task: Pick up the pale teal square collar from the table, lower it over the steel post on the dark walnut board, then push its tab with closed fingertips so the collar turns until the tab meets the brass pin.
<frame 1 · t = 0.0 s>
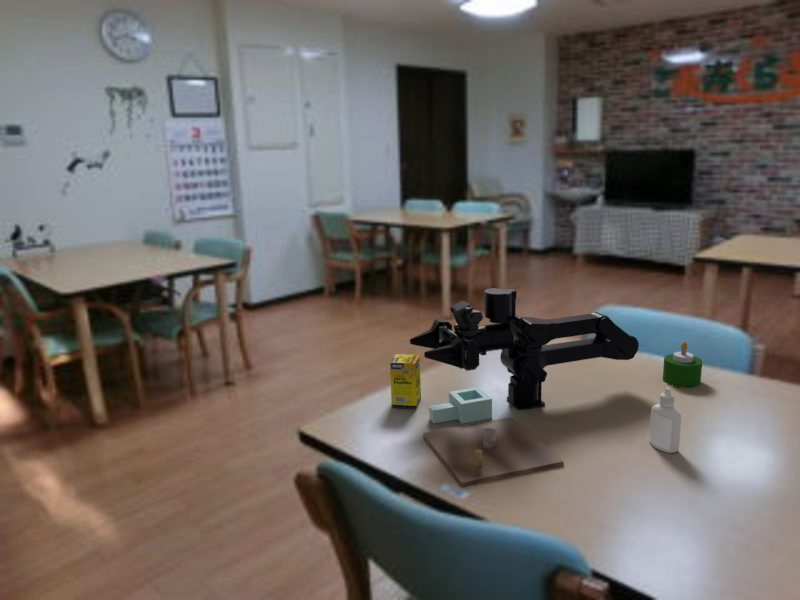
hand: (417, 348, 128), 17 cm above the table, tool horizontal, fingers open, 9 cm apart
eye dropper bottle: (663, 448, 117), on the table
collar: (431, 421, 132), on the table
candle: (681, 382, 147), on the table
supplement box: (406, 404, 141), on the table
board: (489, 450, 118), on the table
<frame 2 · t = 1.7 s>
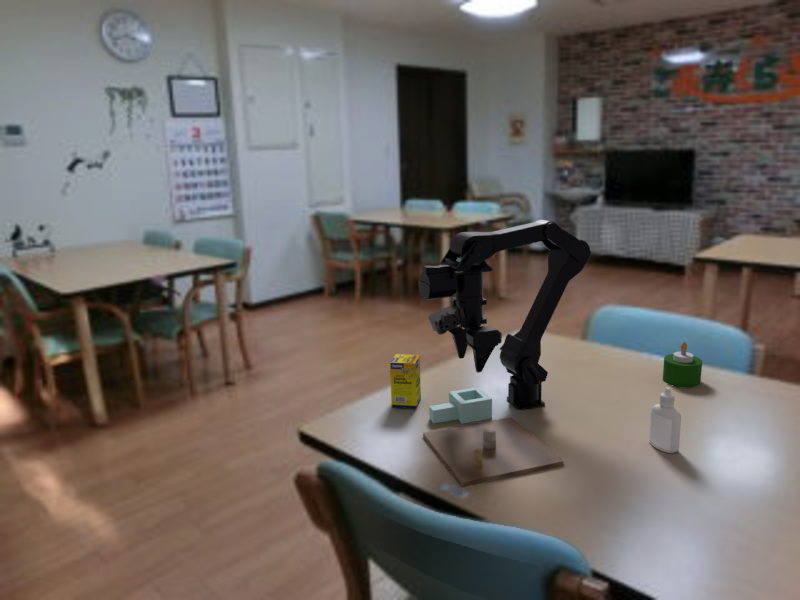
hand: (469, 364, 131), 11 cm above the table, tool pointing down, fingers open, 9 cm apart
nothing on the table moved.
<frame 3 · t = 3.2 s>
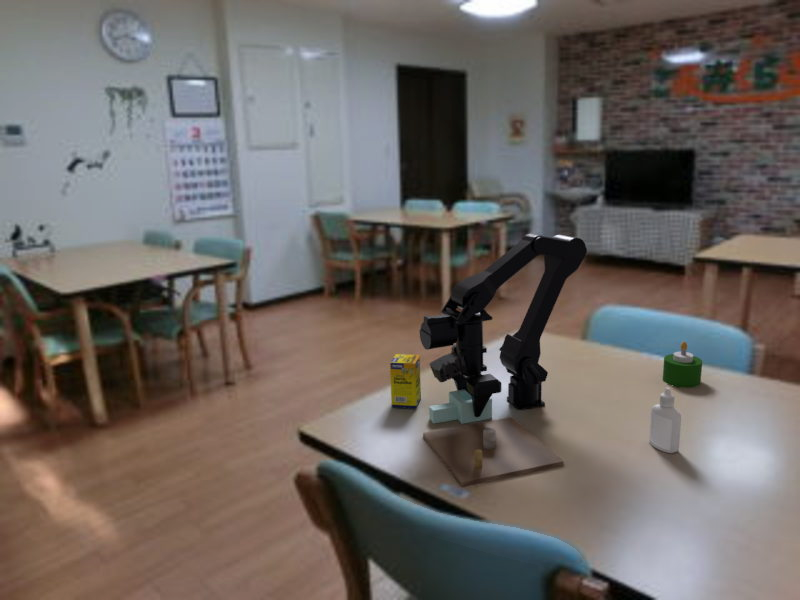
hand: (470, 410, 134), 1 cm above the table, tool pointing down, fingers closed on collar, 7 cm apart
collar: (431, 421, 132), on the table, touching gripper
everything else where it was.
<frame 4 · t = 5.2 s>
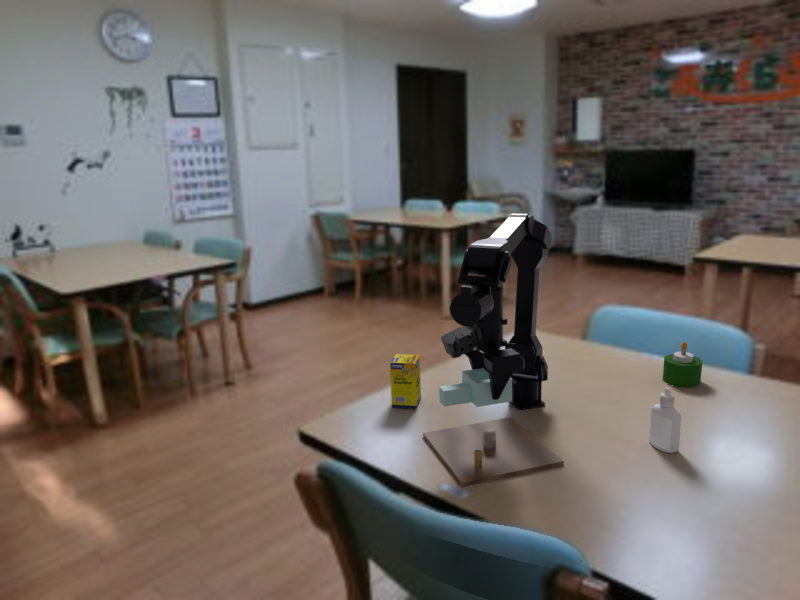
hand: (487, 392, 116), 12 cm above the table, tool pointing down, fingers closed on collar, 7 cm apart
collar: (441, 404, 114), point 11 cm above the table, touching gripper
everything else where it was.
when the fingers open (3 cm above the table, at t = 7.4 s): collar drops 1 cm, resting on board.
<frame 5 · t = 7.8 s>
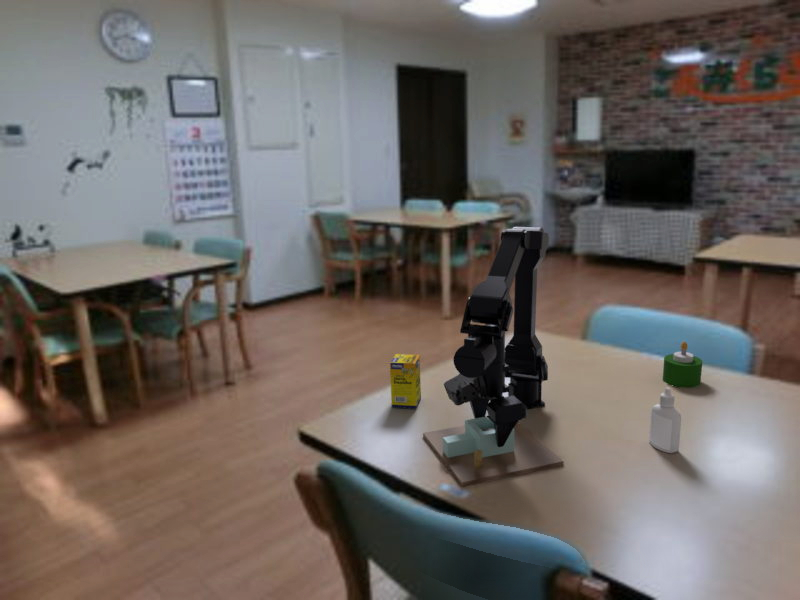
hand: (489, 435, 118), 3 cm above the table, tool pointing down, fingers open, 9 cm apart
collar: (445, 454, 116), point 1 cm above the table, touching board
everything else where it was.
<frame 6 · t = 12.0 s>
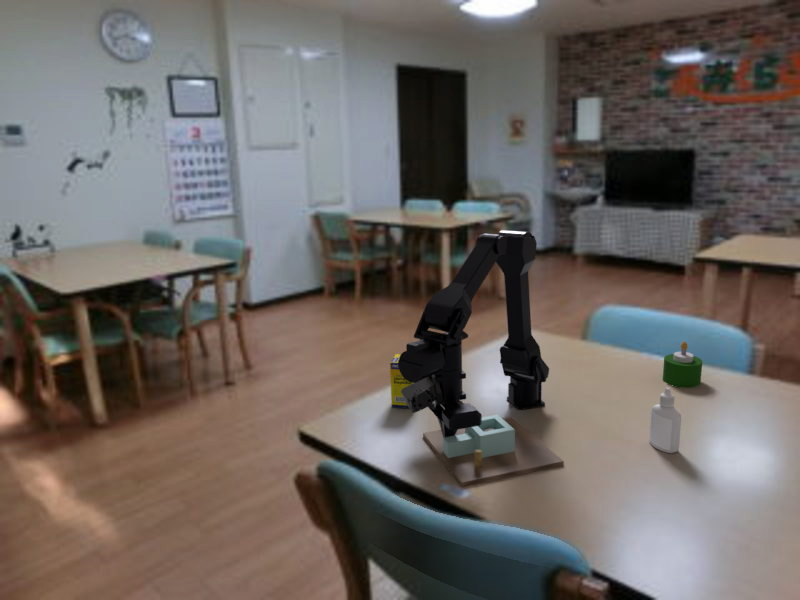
hand: (447, 442, 118), 2 cm above the table, tool pointing down, fingers closed
collar: (445, 455, 116), point 1 cm above the table, touching board, gripper
everything else where it was.
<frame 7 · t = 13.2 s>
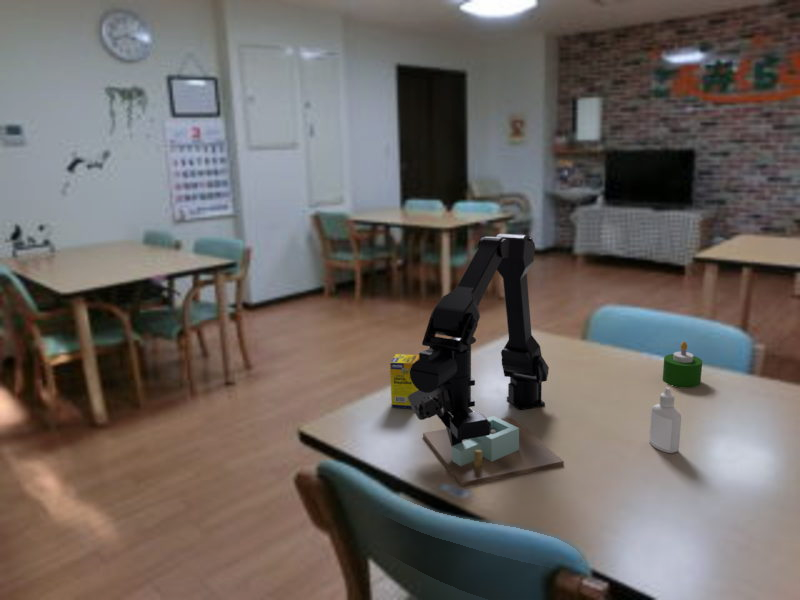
hand: (455, 449, 115), 2 cm above the table, tool pointing down, fingers closed
collar: (456, 463, 112), point 1 cm above the table, touching board, gripper
everything else where it was.
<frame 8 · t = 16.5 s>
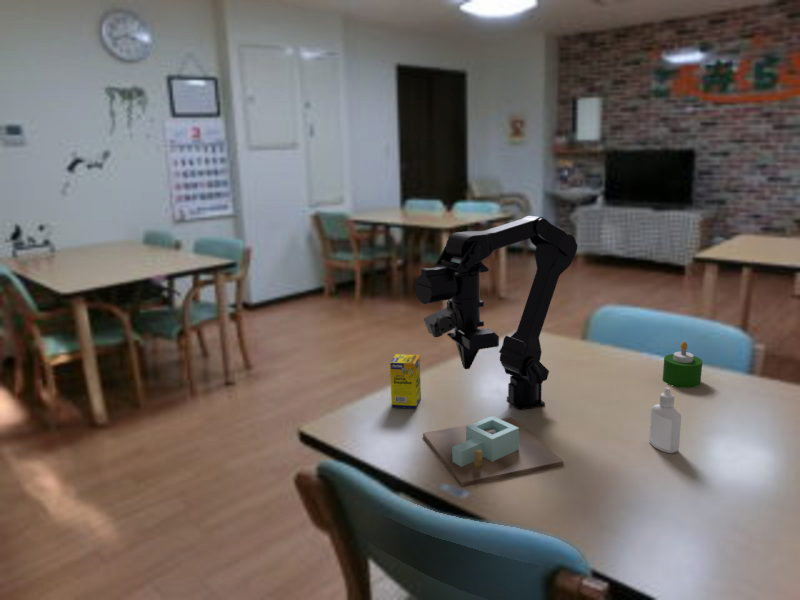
hand: (466, 368, 128), 12 cm above the table, tool pointing down, fingers closed
collar: (456, 464, 112), point 1 cm above the table, touching board
everything else where it was.
at the end: collar 1.7 cm from the target spot, point 0.8 cm above the table; collar point 0.8 cm above the table; collar tilted 0° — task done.
